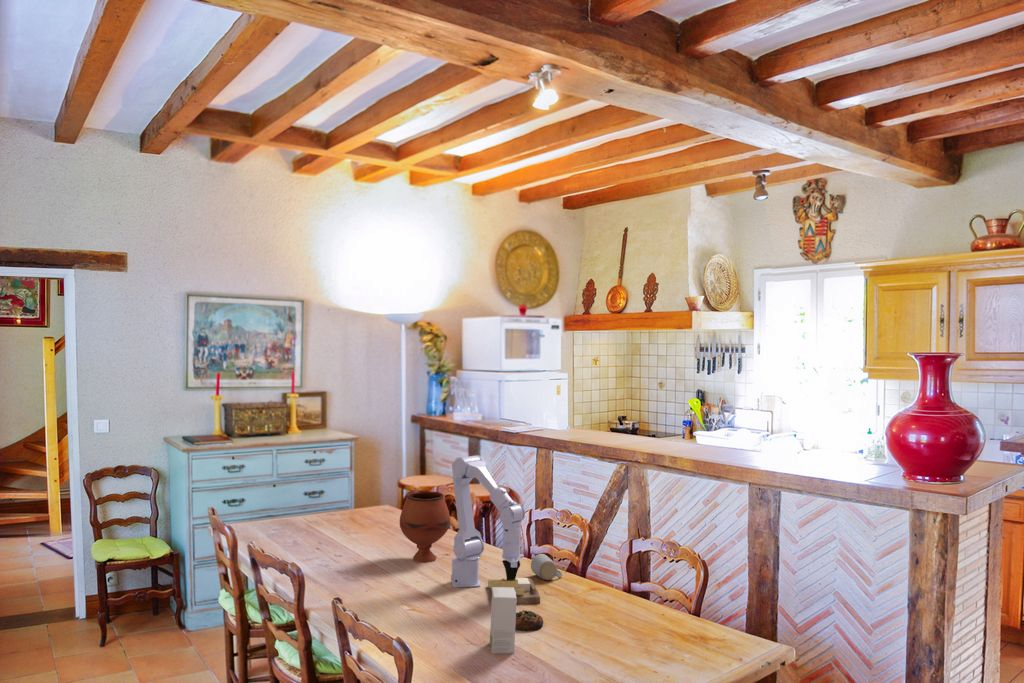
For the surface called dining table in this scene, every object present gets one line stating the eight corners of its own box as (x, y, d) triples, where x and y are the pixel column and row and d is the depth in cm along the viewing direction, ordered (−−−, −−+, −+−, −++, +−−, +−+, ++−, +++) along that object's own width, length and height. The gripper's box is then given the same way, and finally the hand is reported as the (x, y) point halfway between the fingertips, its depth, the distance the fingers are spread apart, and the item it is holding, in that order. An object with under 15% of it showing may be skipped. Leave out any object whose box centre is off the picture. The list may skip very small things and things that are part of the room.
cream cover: (508, 591, 251) (509, 583, 251) (506, 585, 256) (507, 578, 256) (529, 591, 251) (530, 583, 251) (527, 585, 257) (527, 578, 257)
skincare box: (489, 642, 213) (491, 586, 213) (513, 642, 213) (514, 586, 213) (491, 654, 205) (492, 596, 205) (515, 654, 205) (517, 596, 205)
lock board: (493, 604, 244) (494, 593, 244) (488, 586, 262) (489, 576, 262) (540, 603, 246) (540, 592, 246) (531, 585, 264) (532, 575, 264)
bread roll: (532, 634, 219) (531, 616, 220) (500, 631, 225) (499, 613, 226) (551, 624, 229) (549, 607, 229) (520, 621, 235) (518, 604, 235)
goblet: (389, 562, 287) (390, 496, 287) (414, 550, 304) (415, 488, 304) (434, 569, 279) (435, 501, 279) (457, 556, 297) (459, 492, 297)
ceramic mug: (539, 582, 268) (540, 560, 268) (529, 575, 275) (530, 554, 275) (566, 579, 272) (567, 558, 272) (556, 573, 279) (557, 552, 279)
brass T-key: (488, 595, 245) (488, 581, 245) (487, 594, 247) (488, 579, 247) (524, 595, 246) (524, 580, 246) (523, 593, 248) (524, 579, 248)
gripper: (526, 547, 243) (525, 590, 243) (520, 536, 258) (520, 576, 258) (505, 547, 243) (504, 590, 242) (500, 536, 257) (499, 576, 257)
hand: (510, 583), depth 250 cm, fingers closed
